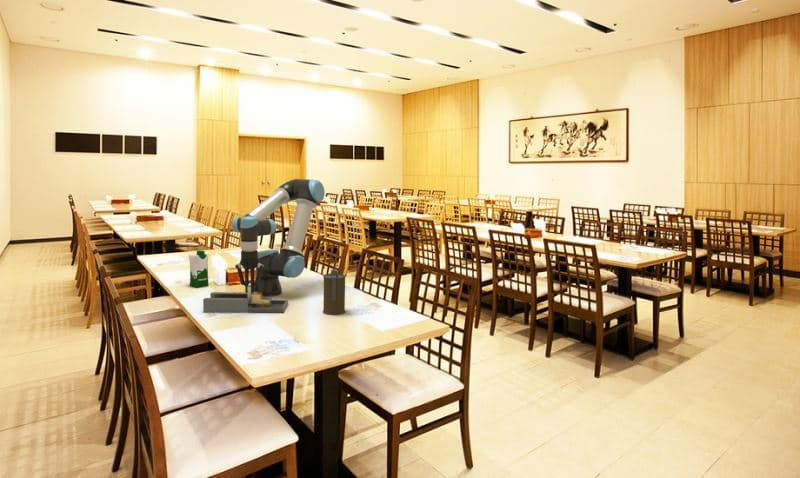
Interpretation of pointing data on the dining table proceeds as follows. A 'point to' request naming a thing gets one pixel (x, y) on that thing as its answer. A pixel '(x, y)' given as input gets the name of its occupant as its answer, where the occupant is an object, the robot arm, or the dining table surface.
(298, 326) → the dining table surface
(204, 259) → the milk carton
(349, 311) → the dining table surface
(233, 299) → the slot plate
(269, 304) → the brass block
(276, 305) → the tray
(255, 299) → the brass block
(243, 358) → the dining table surface
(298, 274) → the robot arm
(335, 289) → the canister
